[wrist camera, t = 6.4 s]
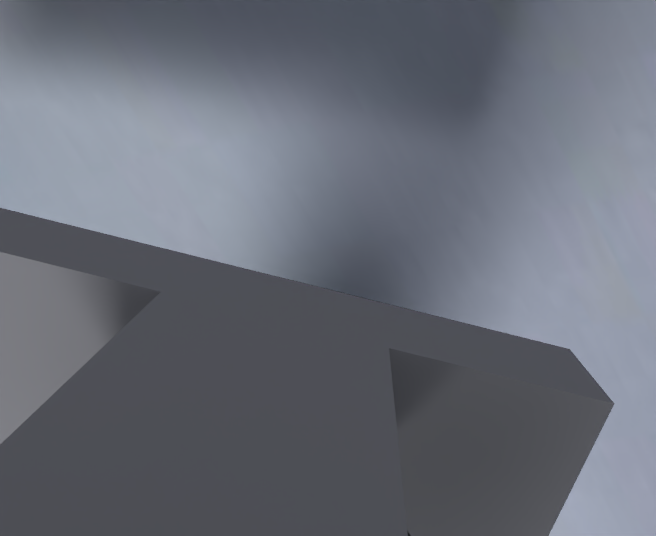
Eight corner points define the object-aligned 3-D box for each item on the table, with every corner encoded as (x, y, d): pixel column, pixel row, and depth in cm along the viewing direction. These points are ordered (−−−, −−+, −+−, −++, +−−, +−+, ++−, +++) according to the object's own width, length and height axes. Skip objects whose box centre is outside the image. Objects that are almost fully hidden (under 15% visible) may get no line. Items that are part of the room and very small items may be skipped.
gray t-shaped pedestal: (569, 349, 11) (914, 767, 4) (489, 528, 12) (638, 1038, 6) (-181, 163, 10) (-1136, 274, 4) (-162, 370, 12) (-808, 704, 5)
